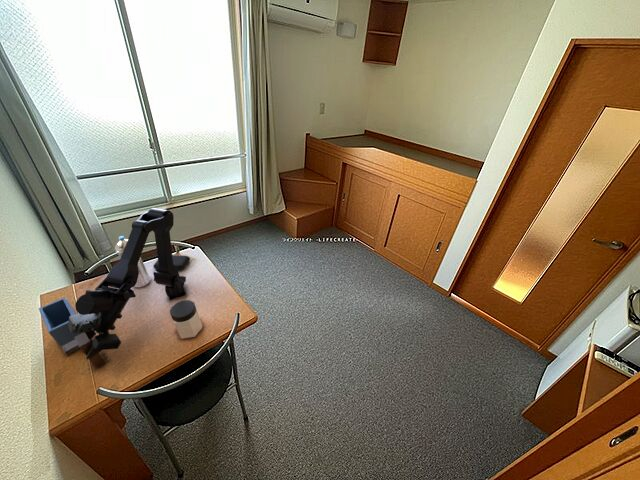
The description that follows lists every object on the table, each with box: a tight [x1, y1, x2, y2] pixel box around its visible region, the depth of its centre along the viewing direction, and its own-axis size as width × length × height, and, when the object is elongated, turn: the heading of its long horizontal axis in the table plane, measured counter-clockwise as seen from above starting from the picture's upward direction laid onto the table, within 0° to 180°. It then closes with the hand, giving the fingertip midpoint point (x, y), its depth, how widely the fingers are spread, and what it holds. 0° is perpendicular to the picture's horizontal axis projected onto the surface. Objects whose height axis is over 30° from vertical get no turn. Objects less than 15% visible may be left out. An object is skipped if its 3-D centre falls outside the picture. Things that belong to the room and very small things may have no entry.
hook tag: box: [61, 332, 107, 369], centre depth 80 cm, size 6×5×12 cm
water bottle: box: [114, 235, 151, 288], centre depth 108 cm, size 7×7×25 cm
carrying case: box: [152, 254, 191, 271], centre depth 125 cm, size 11×3×15 cm
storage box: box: [38, 296, 93, 354], centre depth 88 cm, size 7×14×12 cm, turn 51°
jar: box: [169, 299, 203, 340], centre depth 93 cm, size 9×8×12 cm
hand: (84, 352), depth 80 cm, fingers open, 6 cm apart
